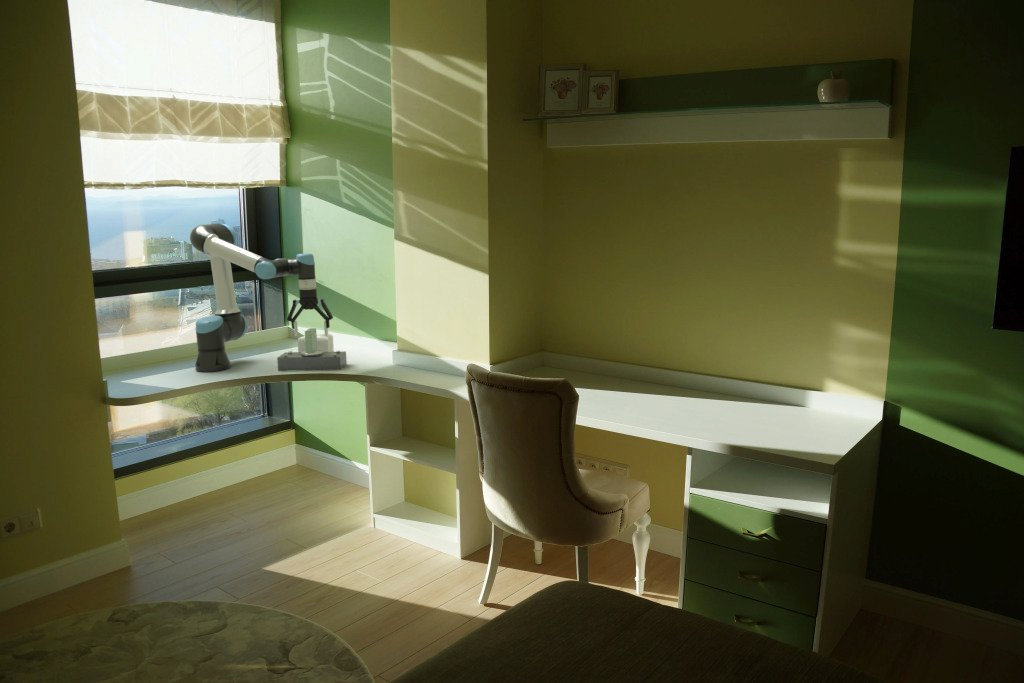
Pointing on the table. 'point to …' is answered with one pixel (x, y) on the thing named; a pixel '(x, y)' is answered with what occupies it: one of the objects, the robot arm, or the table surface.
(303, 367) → the block
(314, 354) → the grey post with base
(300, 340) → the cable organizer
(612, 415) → the table surface
